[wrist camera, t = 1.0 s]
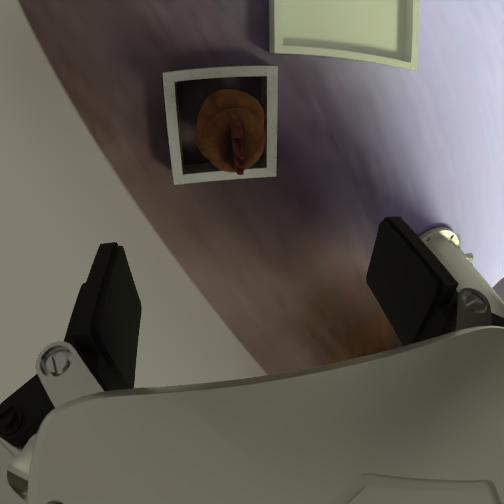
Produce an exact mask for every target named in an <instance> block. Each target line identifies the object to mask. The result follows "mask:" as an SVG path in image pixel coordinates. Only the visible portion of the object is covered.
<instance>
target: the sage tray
mask: <svg viewBox="0 0 504 504" xmlns="http://www.w3.org/2000/svg"><path fill="white" fill-rule="evenodd" d="M418 22H419V0H269V53H284V54H304V55H318V56H329V57H338V58H347V59H354V60H361V61H368V62H374V63H380V64H386V65H391V66H396V67H401V68H406V69H410V70H415V71H416V65H417V50H418Z"/></svg>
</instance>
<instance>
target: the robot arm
mask: <svg viewBox="0 0 504 504" xmlns="http://www.w3.org/2000/svg"><path fill="white" fill-rule="evenodd" d="M472 260H473V255H472V253H468V254H464V253H463V252H462V251H461V250H460V249H459V239H458V237H457V235H456V234H455V233H454V232H453V231H452V230H451V229H449V228H447V227H437V228H434V229H431V230H429V231H427V232H425V233H424V234H422V235H421V236H419V237H418V236H417V235H416V233H415V232H414V231H413V230H412V229H411V228H410V227H409V226H408V225H407V224H406V223H405V222H404V221H403V220H402V219H401V218H400V217H386V218H384V220H383V221H382V222H381V223H380V225H379V229H378V233H377V237H376V241H375V245H374V249H373V253H372V257H371V261H370V265H369V268H368V272H367V276H366V280H367V284H368V286H369V287H370V289H371V291H372V292H373V294H374V296H375V297H376V299H377V301H378V303H379V304H380V306H381V308H382V309H383V311H384V313H385V315H386V316H387V318H388V320H389V322H390V323H391V325H392V327H393V329H394V331H395V332H396V334H397V336H398V338H399V340H400V341H401V343H402V345H403V347H399V348H396V349H392V350H388V351H384V352H380V353H377V354H372V355H368V356H364V357H360V358H356V359H351V360H347V361H342V362H338V363H333V364H328V365H323V366H318V367H313V368H308V369H303V370H297V371H291V372H285V373H279V374H273V375H266V376H260V377H254V378H245V379H238V380H229V381H222V382H211V383H201V384H189V385H178V386H166V387H151V388H134V380H135V366H136V356H137V346H138V336H139V327H140V318H141V302H140V299H139V296H138V293H137V290H136V287H135V284H134V281H133V277H132V274H131V271H130V268H129V265H128V262H127V258H126V255H125V251H124V248H123V246H118V244H117V243H115V242H114V243H106V244H100V246H99V249H98V251H97V254H96V256H95V259H94V262H93V265H92V267H91V270H90V273H89V276H88V278H87V281H86V283H84V284H82V286H81V288H80V291H79V294H78V297H77V300H76V303H75V306H74V309H73V312H72V316H71V319H70V322H69V325H68V329H67V332H66V336H65V339H64V342H61V341H59V342H54V343H51V344H50V345H48V346H46V347H45V348H44V349H43V350H42V351H41V352H40V354H39V355H38V358H37V360H36V371H37V374H36V375H35V376H34V377H33V378H32V379H30V380H29V381H28V382H27V383H25V384H24V385H23V386H22V387H20V388H19V389H18V390H17V391H16V392H14V393H13V394H12V395H11V396H9V397H8V398H7V399H6V400H4V401H3V402H2V403H1V404H0V504H504V302H503V301H502V300H501V299H500V297H499V296H498V295H497V294H496V292H495V291H494V290H493V289H492V287H491V286H490V285H489V284H488V283H487V281H486V280H485V279H484V278H483V277H482V276H481V274H480V273H479V272H478V271H477V270H476V269H475V268H474V266H473V264H472V263H471V262H469V261H472ZM133 388H134V389H133Z"/></svg>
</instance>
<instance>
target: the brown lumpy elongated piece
mask: <svg viewBox="0 0 504 504" xmlns="http://www.w3.org/2000/svg"><path fill="white" fill-rule="evenodd" d="M264 115H265V113H264V110H263V108H262V106H261V105H260V103H259V101H258V100H257V99H256V98H254V97H253V96H251V95H249V94H247V93H245V92H242V91H238V90H235V89H221V90H218V91H216V92H214V93H212V94H210V95H208V97H207V98H206V100H205V101H204V103H203V105H202V107H201V109H200V112H199V114H198V118H197V122H196V127H195V142H196V145H197V146H198V148H199V150H200V152H201V153H202V155H203V156H205V157H206V158H208V159H209V160H210V162H211V163H212V164H213V165H214V166H216V167H217V168H218V169H219V170H221V171H225V172H230V173H234V172H236V173H237V174H238V175H244V170H246V169H248V168H250V167H251V166H253V165H254V164H255V163H256V162H257V161H258V160H259V158H260V156H261V155H262V153H263V151H264V145H265V140H266V139H265V130H264V128H263V127H264Z"/></svg>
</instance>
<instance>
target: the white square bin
mask: <svg viewBox="0 0 504 504" xmlns="http://www.w3.org/2000/svg"><path fill="white" fill-rule="evenodd" d="M247 76H261V106H262V108H263V110H264V113H265V115H264V127H263V128H264V130H265V139H266V140H265V145H264V151H263V153H262V158H259V160H258V161H257V162H256V163H255V164H254V165H253V166H251V167H250V168H248V169H246V170H244V175H238V174H237V173H236V172H234V173H230V172H225V171H221V170H219V169H218V168H217V167H216V166H214V165H213V164H212V163H211V162H204V163H193V164H184V158H183V148H182V137H181V126H180V115H179V102H178V89H177V81H186V80H196V79H208V78H223V77H247ZM163 85H164V97H165V109H166V119H167V129H168V138H169V147H170V156H171V164H172V172H173V180H174V185H178V184H187V183H197V182H207V181H219V180H231V179H244V178H259V177H275V176H276V165H277V109H278V66H274V65H235V66H215V67H202V68H191V69H181V70H172V71H166V72H163Z"/></svg>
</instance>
